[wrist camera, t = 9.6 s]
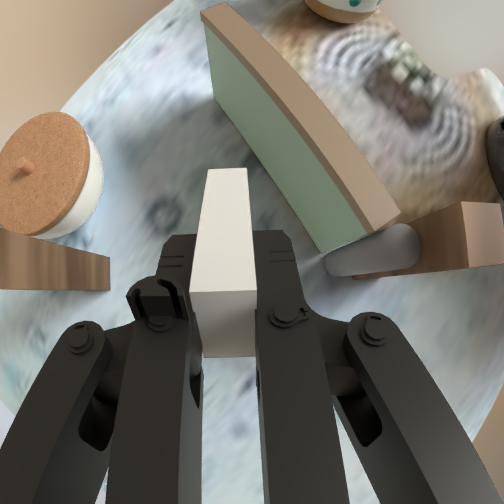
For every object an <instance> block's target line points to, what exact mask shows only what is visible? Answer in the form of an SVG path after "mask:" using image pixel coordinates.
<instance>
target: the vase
mask: <svg viewBox="0 0 504 504" xmlns="http://www.w3.org/2000/svg"><path fill="white" fill-rule="evenodd" d="M304 1H305V3H306V4H307V5H308V6H309V8H310V9H311V10H313V11H314V12H315V13H317V14H318V15H320V16H322V17H324V18H326V19H328V20H331V21H335V22H339V23H357V22H361V21H363V20H365V19H367V18H369V17H370V16H371V15H372V14H373V13H374V12H375V11H376V10H377V8H378V7H379V5H380V4H381V2H382V0H304Z"/></svg>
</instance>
